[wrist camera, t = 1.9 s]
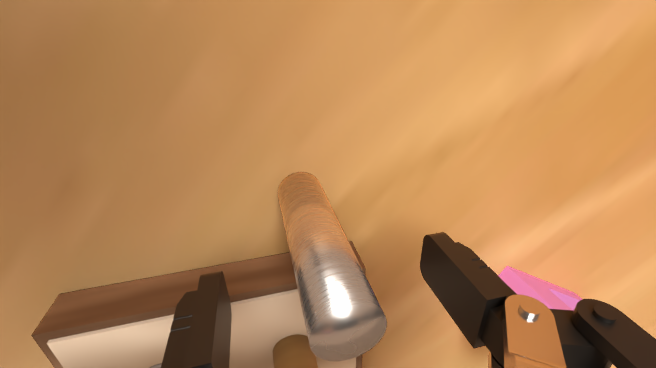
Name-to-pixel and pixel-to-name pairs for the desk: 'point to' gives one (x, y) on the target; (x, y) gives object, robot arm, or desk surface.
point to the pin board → (158, 311)
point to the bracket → (539, 289)
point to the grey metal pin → (328, 274)
